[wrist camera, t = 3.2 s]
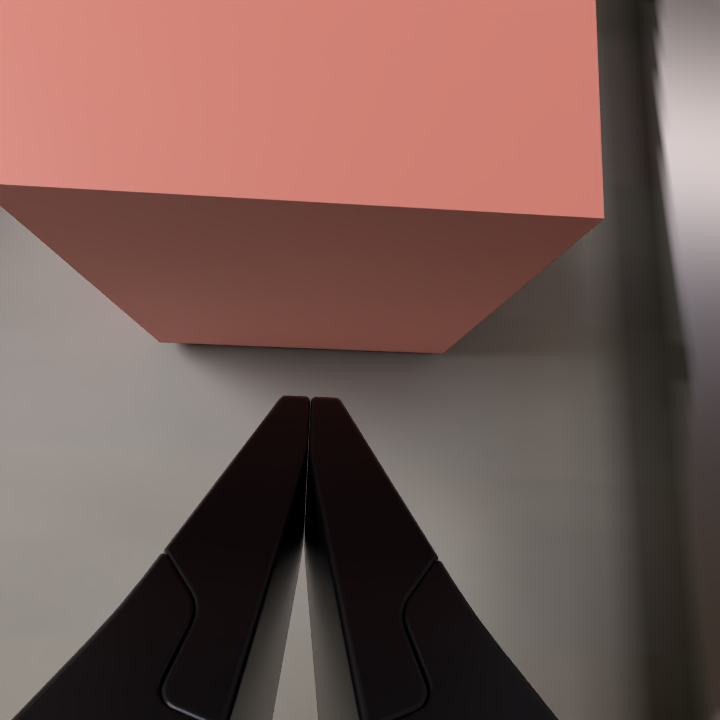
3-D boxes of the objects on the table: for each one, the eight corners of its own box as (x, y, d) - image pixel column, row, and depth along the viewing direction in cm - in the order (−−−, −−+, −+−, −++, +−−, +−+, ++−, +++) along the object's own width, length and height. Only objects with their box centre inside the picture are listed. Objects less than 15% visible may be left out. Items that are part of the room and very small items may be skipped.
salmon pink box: (442, 353, 16) (604, 218, 8) (159, 342, 16) (-27, 182, 7) (444, 31, 18) (579, -398, 9) (185, 11, 17) (58, -466, 8)
